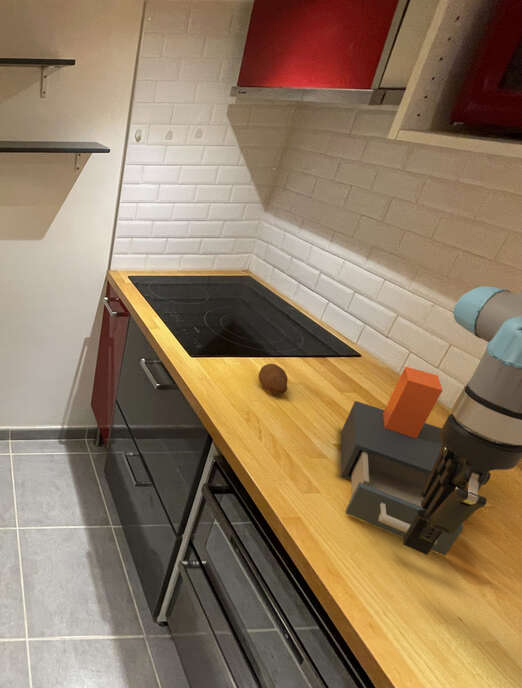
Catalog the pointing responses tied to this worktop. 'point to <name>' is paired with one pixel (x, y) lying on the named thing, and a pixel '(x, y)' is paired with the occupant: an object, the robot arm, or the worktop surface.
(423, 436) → the cabinet
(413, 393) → the box
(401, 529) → the drawer
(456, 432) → the robot arm
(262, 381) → the potato
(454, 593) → the worktop surface
